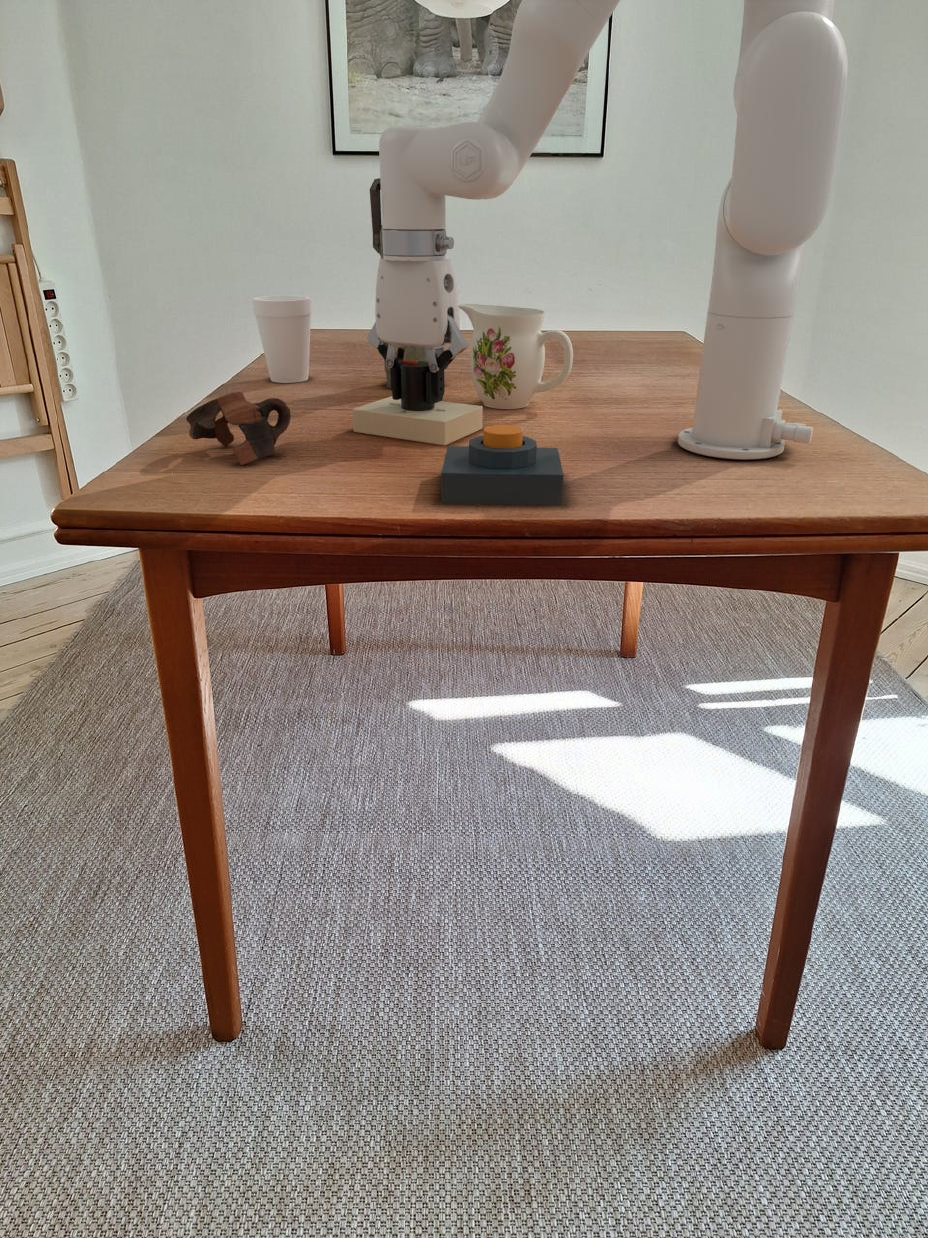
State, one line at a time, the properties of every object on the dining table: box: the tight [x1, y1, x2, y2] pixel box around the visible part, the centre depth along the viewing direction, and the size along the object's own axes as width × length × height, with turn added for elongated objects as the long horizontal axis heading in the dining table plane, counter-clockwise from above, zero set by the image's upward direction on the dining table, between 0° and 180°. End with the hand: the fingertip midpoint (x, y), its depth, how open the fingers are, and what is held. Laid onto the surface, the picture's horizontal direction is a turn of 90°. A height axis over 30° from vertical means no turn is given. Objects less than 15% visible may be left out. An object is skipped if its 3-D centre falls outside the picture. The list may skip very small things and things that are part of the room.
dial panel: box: [351, 395, 484, 446], centre depth 107 cm, size 14×10×3 cm
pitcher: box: [458, 303, 574, 410], centre depth 118 cm, size 11×18×14 cm, turn 65°
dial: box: [400, 360, 435, 411], centre depth 105 cm, size 4×4×6 cm
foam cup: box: [251, 294, 313, 384], centre depth 136 cm, size 10×9×13 cm
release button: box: [482, 424, 524, 448], centre depth 83 cm, size 4×4×2 cm
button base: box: [440, 435, 564, 506], centre depth 84 cm, size 12×10×5 cm
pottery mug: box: [185, 391, 292, 466], centre depth 97 cm, size 12×10×8 cm
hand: (417, 398), depth 106 cm, fingers closed on dial, 4 cm apart
